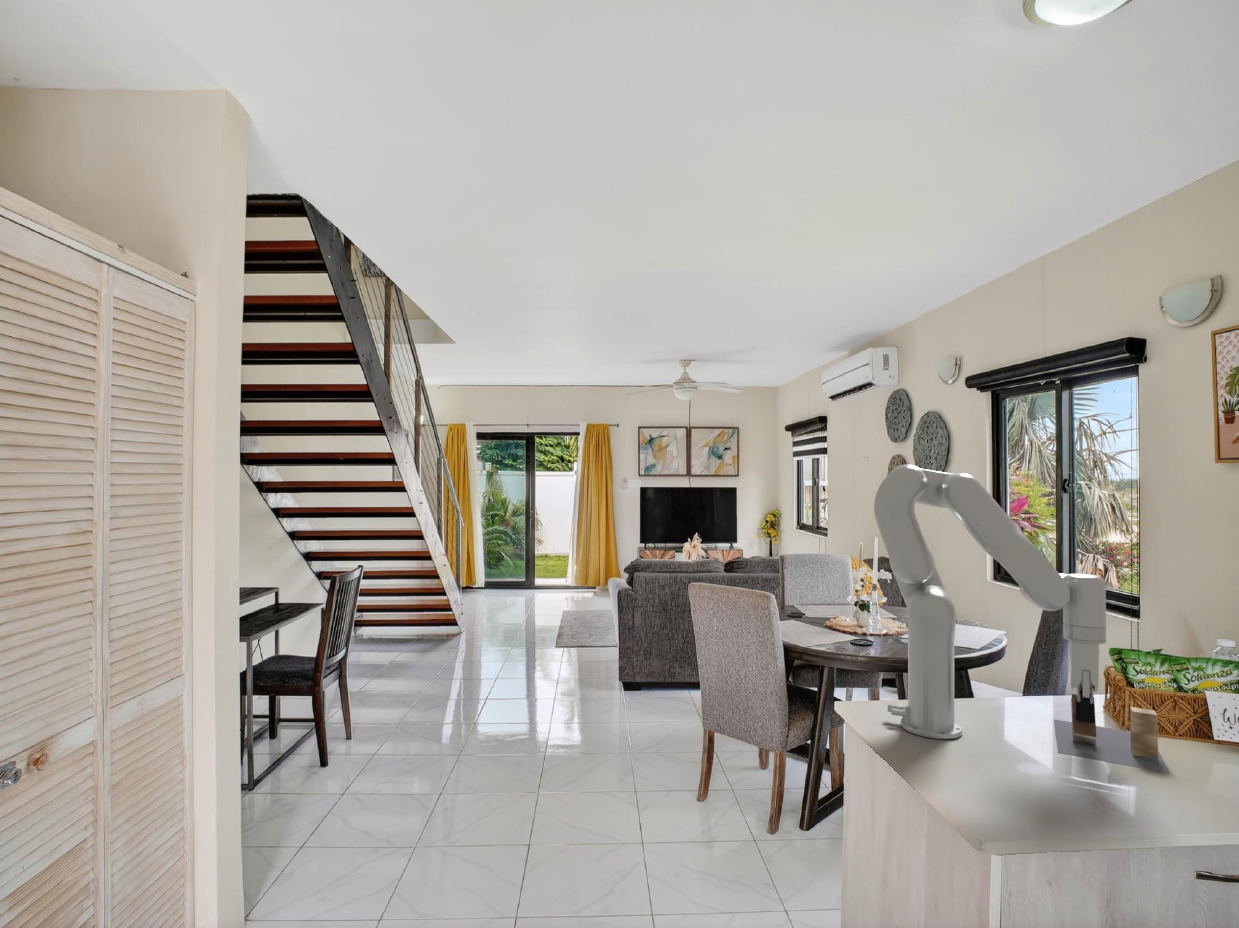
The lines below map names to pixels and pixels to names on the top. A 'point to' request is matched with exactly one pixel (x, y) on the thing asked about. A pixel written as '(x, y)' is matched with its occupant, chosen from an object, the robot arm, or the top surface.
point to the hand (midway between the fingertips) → (1084, 720)
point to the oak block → (1144, 733)
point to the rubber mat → (1104, 747)
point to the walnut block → (1082, 726)
